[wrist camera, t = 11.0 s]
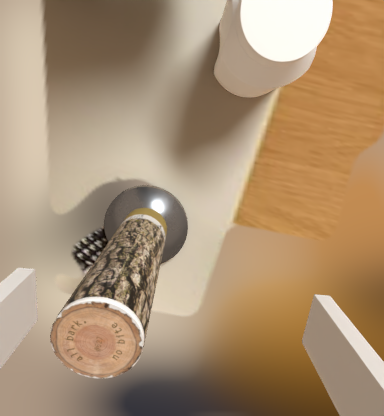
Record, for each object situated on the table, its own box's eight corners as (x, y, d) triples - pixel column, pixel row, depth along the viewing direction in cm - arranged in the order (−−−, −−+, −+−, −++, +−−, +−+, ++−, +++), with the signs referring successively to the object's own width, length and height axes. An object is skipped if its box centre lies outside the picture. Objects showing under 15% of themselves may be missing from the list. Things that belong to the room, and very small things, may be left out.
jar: (222, 0, 38) (243, -77, 24) (293, 10, 39) (356, -60, 24) (210, 93, 41) (223, 75, 27) (276, 101, 42) (323, 87, 27)
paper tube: (119, 241, 46) (44, 368, 22) (129, 201, 44) (57, 290, 20) (161, 252, 46) (132, 386, 22) (172, 212, 45) (153, 312, 21)
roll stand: (105, 182, 45) (68, 207, 31) (190, 188, 45) (191, 215, 31) (106, 259, 48) (72, 314, 34) (184, 264, 48) (183, 320, 34)
